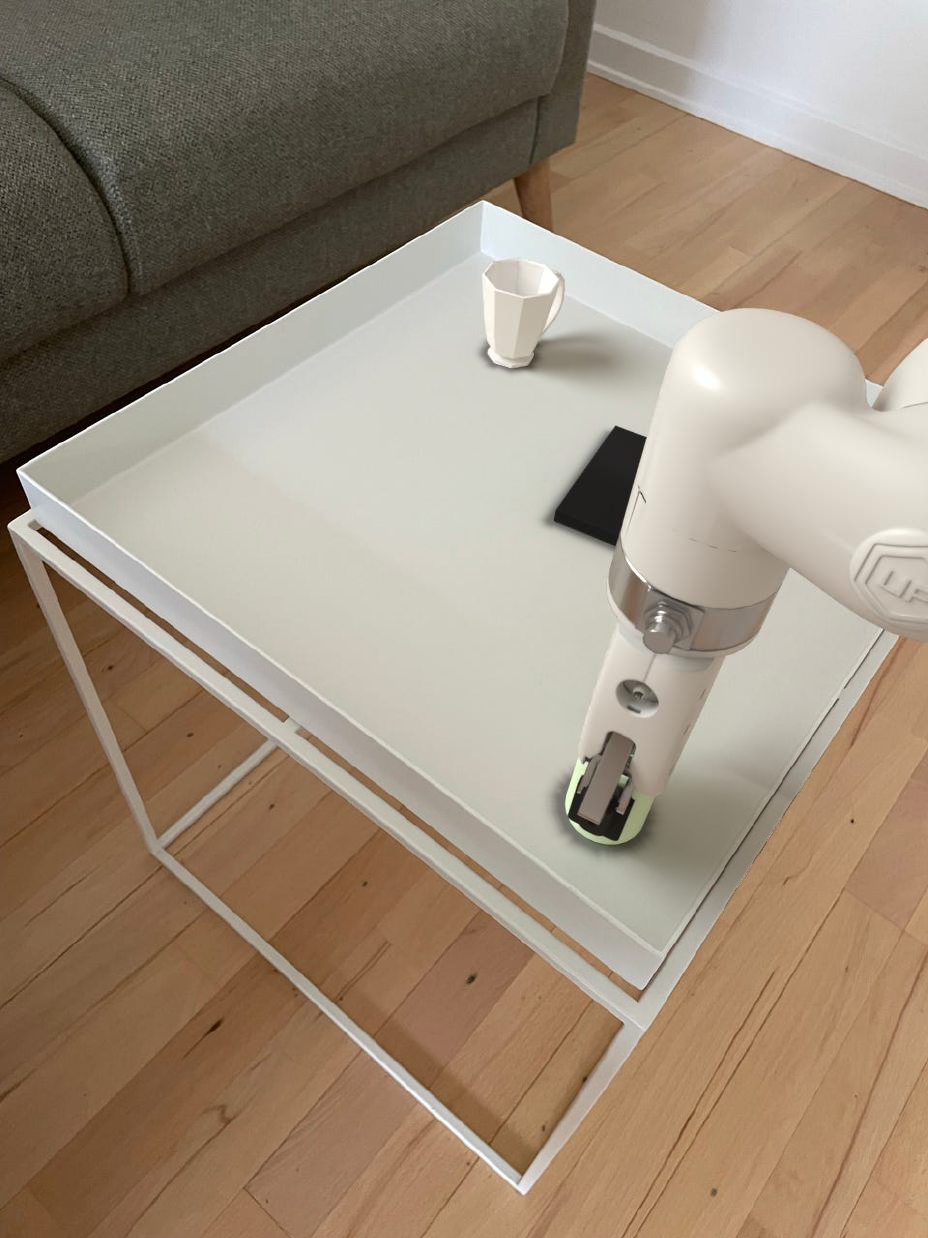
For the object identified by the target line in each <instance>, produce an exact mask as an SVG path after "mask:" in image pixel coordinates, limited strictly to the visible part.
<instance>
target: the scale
mask: <svg viewBox="0 0 928 1238" xmlns="http://www.w3.org/2000/svg"><path fill="white" fill-rule="evenodd" d="M646 439H647V436H645V435H642V434H639V433H636V432H635V431H632V430H630V429H626V428H624V427H622V426H618V425H617V424H616V425H614V426H613V428H612V429H611V431H610V432H609V434H608V435H607V437H606V438H605V439H604V441H603V442H602V444H600V446H599V447H598V449H597V451H596V452H595V453H594V454H593V456H592V458H591V459H590V461H589V462H588V463H587V464H586V466H585V467H584V468H583V470H582V472H581V473H580V475H579V476H578V477H577V479H576V480H575V482H574V483H573V485H572V486H571V487H570V489H569V490H568V491H567V493H566V494H565V496H564V497H563V499H562V500H561V501H560V503H559V504H558V506H557V507H556V508H555V511H554V516H553V521H554V522H555V523H558V524H561V525H563V526H566V527H568V528H571V529H573V530H576V531H577V532H580V533H583V534H586V535H587V536H590V537H593V538H596V539H598V540H600V541H603V542H604V543H607V544H609V545H612V546H614V547H616V544H617V541H618V537H619V534H620V530H621V527H622V525H623V520H624V517H625V513H626V510H627V506H628V503H629V499H630V495H631V492H632V488H633V485H634V481H635V478H636V474H637V470H638V467H639V463H640V460H641V456H642V453H643V449H644V446H645V442H646Z"/></svg>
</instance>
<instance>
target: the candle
mask: <svg viewBox="0 0 928 1238" xmlns="http://www.w3.org/2000/svg"><path fill="white" fill-rule="evenodd" d="M577 756H578V755H577ZM631 756H633V755H632V754H631ZM587 765H588V762H585V764H584V765H583V764H582V763H581V761H580V759H579V756H578V757H577V760H576V763H575V767H574V770H573V773H572V776H571V779H570V782H569V785H568V788H567V792H566V796H565V800H564V801H565V802H564V807H565V813H566V815H567V817H568V812H569V809H570V806H571V803H572V800H573V797H574V793H575V790H576V787H577V784H578V781H579V779H580V777H581V775H584V773H585V770H586V768H587ZM627 779H628V777H627V776H624V775H622V776H621V778H620V780H619V783H618V786H620V787H622V788H624V787H625V784H626V782H627ZM632 798H633V799H634V800H635V802H634V805H633V807H632V810H631V812H630V814H629V817H628V819H627V822H626V824H625V826H624V829H623V831H622V833H621V836H620V838H619V840H618V841H612V840H610V839H608V838H606V837H604V836H595V835H593V834H591V833H589V832H587V831H585V830H583V829H582V828H581V827H580V826H579V824H577V823H575V822H573V821H571V820H570V819H569V818H568V820H569V823H570V824H571V825H572V826H573V828H574V829H575V830H576V831H577V832H578V833H579V834H580V835H582V836H583V837H584V838H585V839H588V840H590V841H592V842H594V843H597V844H602V845H620V844H622V843H627V842H628V841H630V840H632V839H634V838H635V837H636V836H637V835H638V834H639V833H640V832H641V830H642V828H643V826H644V823H645V821H646V819H647V817H648V814H649V812H650V810H651V808H652V805H653V803H654V801H655V799H656V796H653V797H650V796H648V795H645V794H643V793H640V792H638V791H637V790H636V789H635V790H634V792H633V794H632Z"/></svg>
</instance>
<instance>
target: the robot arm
mask: <svg viewBox="0 0 928 1238" xmlns="http://www.w3.org/2000/svg"><path fill="white" fill-rule="evenodd" d="M867 397H868V396H867V381H866V376H865V372H864V370H863V366H862V364H861V362H860V361H859V358H858V357H857V355H855V353H854V352H853V351H852V350H851V348H849V346H848V345H847V344H846V343H845V342H844V341H843V340H842V339H840V337H838V335H835V334H834V333H832V331H830V330H829V329H827V328H825V327H823V326H821V325H819V324H818V323H816V322H813V321H811V320H809V319H806V318H805V317H801V316H798V315H796V314H792V313H788V312H785V311H780V310H775V309H768V308H755V307H746V308H745V307H742V308H734V309H727V310H724V311H721V312H720V311H719V312H716V313H712V314H711V315H707V316H705V317H703V318H702V319H701V320H699V321H697V323H695V324H693V325H692V326H690V327H689V328H688V329H687V330H686V332H685V333H684V334H683V335H682V337H681V338H680V339H679V340H678V341H677V343H676V345H675V346H674V348H673V350H672V352H671V354H670V357H669V360H668V364H667V366H666V369H665V372H664V376H663V379H662V382H661V386H660V390H659V393H658V397H657V400H656V403H655V408H654V409H653V410H654V411H653V413H652V418H651V421H650V425H649V428H648V432H647V436H646V437H647V439H646V442H645V446H644V449H643V453H642V456H641V460H640V463H639V467H638V470H637V474H636V478H635V481H634V485H633V488H632V492H631V495H630V499H629V503H628V506H627V510H626V513H625V517H624V520H623V525H622V527H621V530H620V534H619V537H618V541H617V544H616V546H615V547H614V548H615V549H614V553H613V556H612V559H611V563H610V566H609V570H608V573H607V576H606V577H607V578H606V581H605V593H606V598H607V601H608V604H609V607H610V610H611V611H612V613H613V614H614V616H615V617H616V619H617V620H616V623H615V625H614V628H613V632H612V635H611V637H610V641H609V644H608V647H607V649H606V651H605V653H604V654H605V656H604V659H603V662H602V665H601V668H600V671H599V673H598V676H597V680H596V682H595V686H594V689H593V693H592V695H591V699H590V702H589V705H588V709H587V712H586V715H585V719H584V722H583V724H582V725H583V726H582V729H581V733H580V737H579V740H578V745H577V751H576V752H577V756H579V759H580V761H581V763H582V764H583V765H584V764H585V762H588V765H587V768H586V770H585V773H584V775H581V777H580V779H579V781H578V784H577V787H576V790H575V793H574V797H573V800H572V803H571V806H570V809H569V812H568V816H567V819H568V820H569V819H570V820H571V821H573V822H575V823H577V824H579V826H580V827H581V828H582V829H583V830H585V831H587V832H589V833H591V834H593V835H595V836H604V837H606V838H608V839H610V840H612V841H618V840H619V838H620V836H621V833H622V831H623V829H624V826H625V824H626V822H627V819H628V817H629V814H630V812H631V810H632V807H633V805H634V802H635V800H634V799H633V798H632V794H633V792H634V790H635V789H636V790H637V791H638V792H640V793H643V794H645V795H648V796H650V797H653V796H655V797H657V796H658V795H660V794H662V793H663V792H664V791H665V789H666V787H667V786H668V783H669V781H670V779H671V776H672V775H673V773H674V771H675V768H676V766H677V764H678V762H679V760H680V757H681V755H682V753H683V751H684V749H685V747H686V744H687V743H688V740H689V739H690V736H691V734H692V732H693V730H694V728H695V725H696V724H697V721H698V719H699V717H700V715H701V713H702V710H703V709H704V706H705V704H706V701H707V700H708V697H709V695H710V693H711V690H712V689H713V686H714V685H715V682H716V679H717V678H718V675H719V673H720V671H721V669H722V667H723V664H724V662H725V659H726V657H727V656H730V655H733V654H736V653H738V652H740V651H742V650H744V649H745V648H747V646H749V645H750V644H752V643H753V641H754V640H755V639H756V638H757V636H758V635H759V633H760V631H761V629H762V627H763V625H764V623H765V621H766V619H767V616H768V615H769V612H770V611H771V608H772V606H773V605H774V602H775V600H776V598H777V596H778V593H779V591H780V589H781V587H782V586H783V582H784V581H785V579H786V577H787V574H788V573H789V571H790V569H792V570H793V571H795V572H796V573H797V574H799V575H800V576H802V577H803V578H805V579H806V580H807V581H809V582H810V583H811V584H813V586H815V587H816V588H818V589H819V590H820V591H822V592H823V593H824V594H826V595H827V596H829V597H830V598H831V599H833V600H835V601H836V602H837V603H839V604H840V605H842V606H843V608H844V607H845V608H846V609H848V610H849V611H851V612H852V613H854V614H855V615H857V616H858V617H860V618H861V619H863V620H865V621H867V622H869V623H870V624H872V625H874V626H876V627H879V628H880V629H882V630H884V631H886V632H888V633H891V634H893V635H895V636H900V637H902V638H905V639H908V640H912V641H915V642H920V643H926V644H928V337H927V338H925V339H924V340H922V342H921V343H919V344H918V345H917V346H916V347H915V348H914V349H913V350H911V352H909V353H908V355H907V356H905V358H904V359H902V361H901V362H900V363H899V365H898V366H897V367H895V369H894V370H893V371H892V373H890V375H889V377H888V378H887V380H886V381H885V382H884V384H883V386H882V388H881V390H880V392H879V393H878V395H877V396H876V397H875V400H874V401H873V403H872V405H870V404H869V402H868V398H867ZM631 754H632V755H633V756H631ZM622 775H624V776H627V777H628V779H627V782H626V784H625V787H624V788H622V787H620V786H618V783H619V780H620V778H621V776H622ZM570 820H569V821H570Z"/></svg>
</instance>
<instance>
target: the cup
mask: <svg viewBox="0 0 928 1238" xmlns="http://www.w3.org/2000/svg"><path fill="white" fill-rule="evenodd" d="M481 280H482V281H481V282H482V297H483V299H482V300H483V316H484V317H483V319H484V328H485V334H486V341H487V343H488V345H489V348H488V349H487V355H488V357H489V358H490V359H491V360H492V362H493V363H494V364H496V365H499V366H503V367H504V368H505V367H506V368H508V369H517V368H522V367H527V366H529V365H530V363H531V362H532V359H533V358H534V355H535V353H534V350H535V349H536V347H537V345H538V343H539V341H540V339H541V338H542V337H543V335H544V334H545V333H546V332H547V331H548V330H549V327H551V325H552V324H553V323H554V321H555V320H556V319H557V316H558V315H559V313H560V311H561V308H562V306H563V303H564V300H565V291H566V287H565V284H566V283H565V278H564V275H563V274H562V273H561V272H559V271H557V270H555V269H552V268H550V267H549V265H548V264H547V265H546V264H543V263H540V262H536V261H533V260H528V259H526V258H522V257H515V258H507V259H500V260H494V261H492V262H491V263H490V264H489V265H488V267H487V268H486V269H485V270H484V272H483V273H482V274H481Z"/></svg>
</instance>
